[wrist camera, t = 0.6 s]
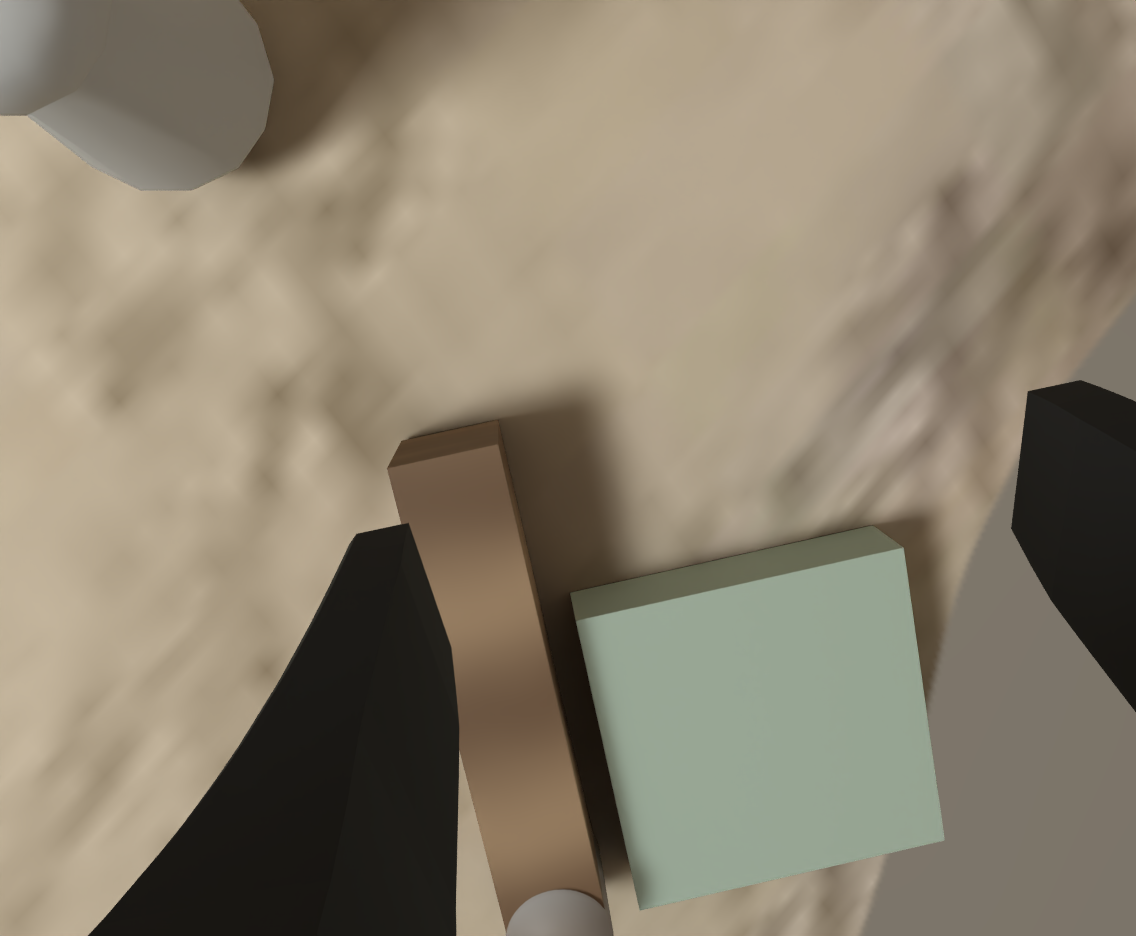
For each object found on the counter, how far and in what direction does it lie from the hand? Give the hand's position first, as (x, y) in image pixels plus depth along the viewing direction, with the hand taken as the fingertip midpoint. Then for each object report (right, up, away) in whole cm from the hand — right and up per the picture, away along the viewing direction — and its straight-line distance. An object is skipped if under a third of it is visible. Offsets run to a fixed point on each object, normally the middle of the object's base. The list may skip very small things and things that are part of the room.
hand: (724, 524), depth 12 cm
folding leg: (-4, -6, +21) cm, 22 cm away
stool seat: (+4, -7, +22) cm, 23 cm away
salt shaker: (-13, +11, +17) cm, 24 cm away
